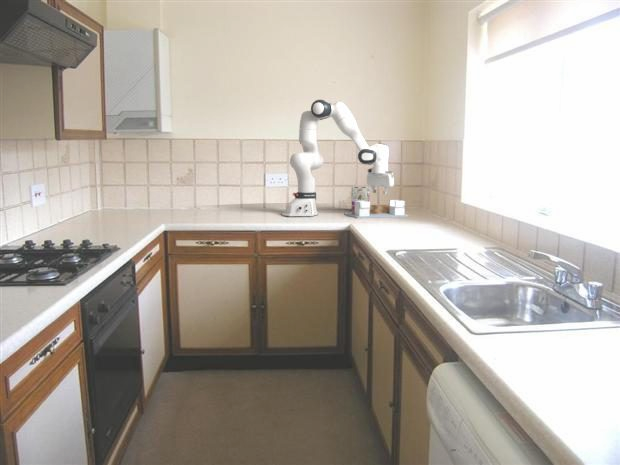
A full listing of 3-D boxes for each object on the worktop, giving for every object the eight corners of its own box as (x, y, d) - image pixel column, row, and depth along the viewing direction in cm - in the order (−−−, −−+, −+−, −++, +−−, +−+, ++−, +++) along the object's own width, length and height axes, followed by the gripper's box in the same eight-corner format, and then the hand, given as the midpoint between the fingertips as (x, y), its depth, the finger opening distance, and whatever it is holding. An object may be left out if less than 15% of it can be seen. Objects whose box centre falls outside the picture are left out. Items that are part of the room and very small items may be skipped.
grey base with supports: (357, 218, 315) (357, 202, 314) (344, 214, 334) (344, 199, 332) (408, 216, 326) (409, 201, 325) (392, 213, 345) (393, 198, 343)
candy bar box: (369, 211, 352) (370, 186, 350) (368, 212, 347) (368, 187, 345) (352, 211, 355) (353, 186, 353) (351, 211, 351) (351, 186, 348)
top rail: (355, 214, 327) (355, 206, 326) (352, 213, 330) (352, 205, 330) (392, 212, 337) (392, 205, 336) (389, 212, 340) (389, 204, 340)
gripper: (396, 171, 315) (395, 194, 317) (373, 169, 331) (372, 191, 333) (389, 171, 311) (388, 195, 313) (365, 169, 327) (364, 192, 330)
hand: (379, 193), depth 323 cm, fingers open, 8 cm apart
